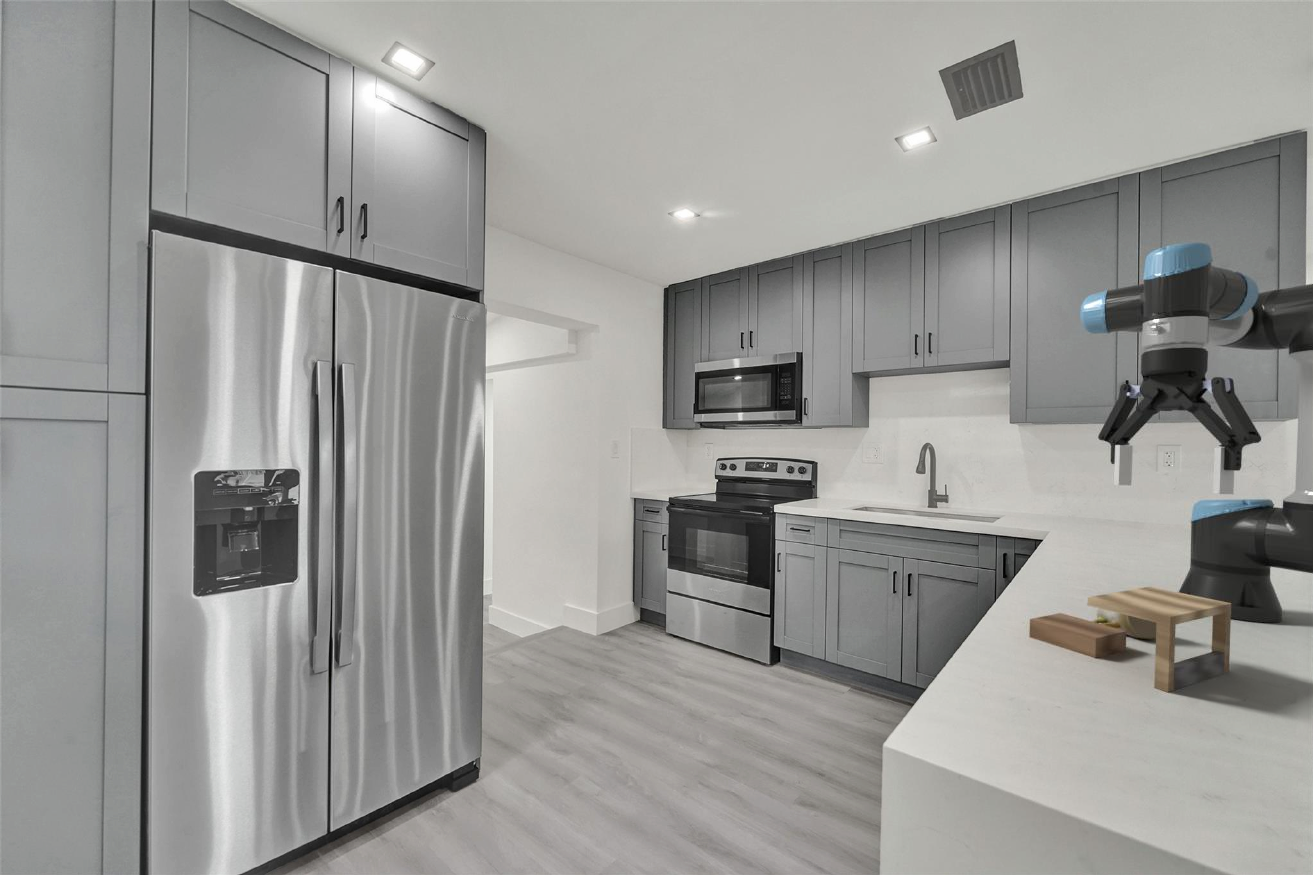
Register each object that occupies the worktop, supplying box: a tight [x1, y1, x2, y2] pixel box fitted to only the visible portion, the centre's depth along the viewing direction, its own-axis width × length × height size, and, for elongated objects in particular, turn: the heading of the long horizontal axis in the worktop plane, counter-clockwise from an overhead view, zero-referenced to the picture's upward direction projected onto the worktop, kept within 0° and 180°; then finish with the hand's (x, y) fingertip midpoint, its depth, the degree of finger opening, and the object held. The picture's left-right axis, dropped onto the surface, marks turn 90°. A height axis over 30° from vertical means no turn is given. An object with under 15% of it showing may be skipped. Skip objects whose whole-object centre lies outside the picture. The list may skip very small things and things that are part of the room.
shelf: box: [1087, 586, 1232, 693], centre depth 86 cm, size 18×10×10 cm, turn 116°
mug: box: [1091, 607, 1156, 640], centre depth 102 cm, size 8×10×10 cm
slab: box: [1028, 612, 1127, 659], centre depth 96 cm, size 9×10×4 cm
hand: (1169, 489), depth 87 cm, fingers open, 13 cm apart
